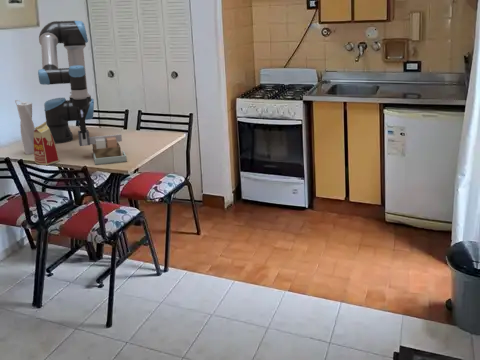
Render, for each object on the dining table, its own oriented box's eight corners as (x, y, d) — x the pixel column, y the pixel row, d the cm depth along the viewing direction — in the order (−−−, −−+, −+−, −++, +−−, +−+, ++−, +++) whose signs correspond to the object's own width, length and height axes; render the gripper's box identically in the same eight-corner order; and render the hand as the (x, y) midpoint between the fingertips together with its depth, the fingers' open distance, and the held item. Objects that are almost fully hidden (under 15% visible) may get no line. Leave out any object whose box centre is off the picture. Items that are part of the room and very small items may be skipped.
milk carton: (48, 158, 282) (43, 119, 276) (60, 161, 278) (55, 121, 271) (32, 163, 275) (27, 123, 269) (44, 166, 270) (39, 125, 264)
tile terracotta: (107, 147, 282) (107, 140, 280) (106, 145, 286) (106, 138, 284) (116, 147, 283) (116, 139, 282) (115, 144, 287) (115, 137, 286)
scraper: (79, 146, 280) (78, 132, 278) (79, 144, 284) (77, 130, 281) (122, 141, 286) (121, 128, 284) (121, 140, 290) (120, 126, 288)
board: (94, 159, 280) (93, 149, 279) (93, 153, 290) (92, 144, 289) (121, 156, 284) (120, 147, 283) (118, 151, 294) (117, 142, 293)
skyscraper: (22, 155, 289) (15, 101, 280) (21, 151, 296) (14, 98, 287) (38, 153, 292) (31, 99, 283) (37, 149, 299) (30, 97, 290)
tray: (95, 164, 271) (94, 158, 270) (93, 159, 280) (93, 153, 279) (126, 161, 276) (126, 155, 275) (124, 156, 285) (123, 150, 284)
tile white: (96, 149, 280) (95, 141, 279) (95, 146, 284) (95, 139, 283) (105, 148, 281) (105, 140, 280) (104, 145, 285) (104, 138, 284)
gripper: (71, 95, 282) (75, 140, 289) (72, 101, 266) (77, 149, 274) (86, 94, 284) (90, 139, 291) (88, 100, 268) (93, 147, 276)
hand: (84, 144), depth 282 cm, fingers closed on scraper, 4 cm apart
